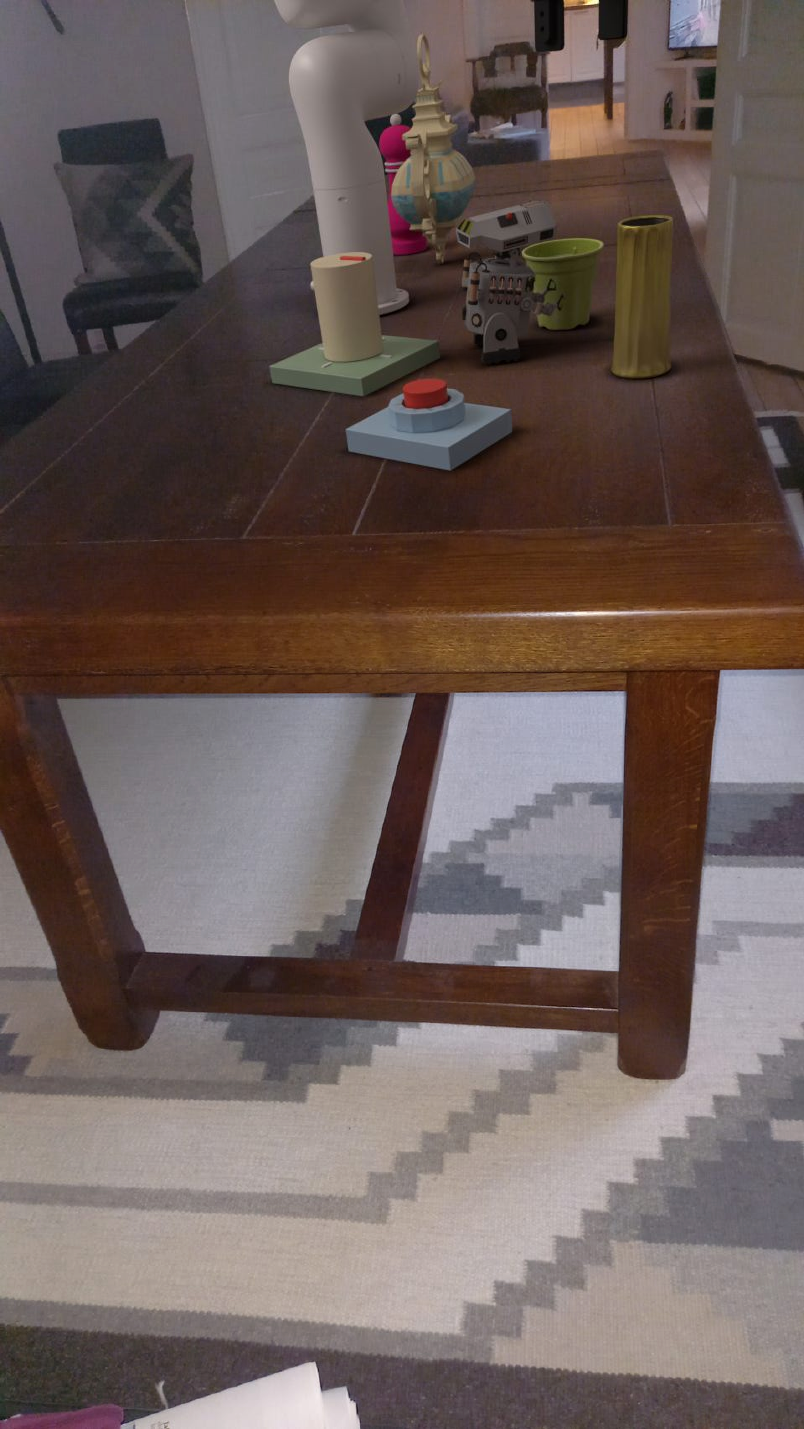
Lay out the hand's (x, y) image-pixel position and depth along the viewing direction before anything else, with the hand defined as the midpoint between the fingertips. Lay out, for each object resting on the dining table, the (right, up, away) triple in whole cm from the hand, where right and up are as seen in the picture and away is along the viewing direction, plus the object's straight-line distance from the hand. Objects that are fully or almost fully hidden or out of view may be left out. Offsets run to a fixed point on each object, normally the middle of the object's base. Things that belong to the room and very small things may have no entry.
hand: (581, 45), depth 96 cm
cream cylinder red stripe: (-23, -24, +16) cm, 37 cm away
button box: (-15, -40, -4) cm, 43 cm away
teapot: (-11, +5, +59) cm, 60 cm away
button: (-15, -37, -6) cm, 41 cm away
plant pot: (+2, -18, +24) cm, 30 cm away
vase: (+7, -30, +6) cm, 32 cm away
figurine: (-5, -24, +17) cm, 30 cm away
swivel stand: (-23, -26, +18) cm, 39 cm away
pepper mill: (-16, +13, +70) cm, 73 cm away
